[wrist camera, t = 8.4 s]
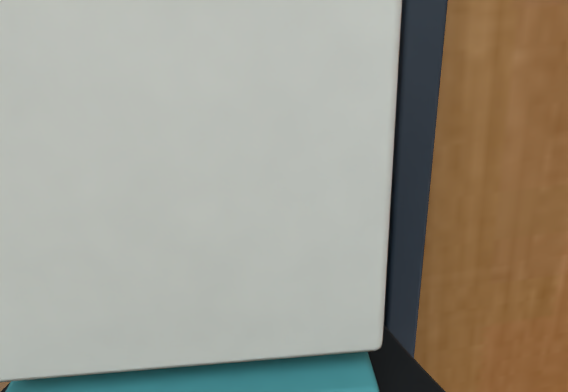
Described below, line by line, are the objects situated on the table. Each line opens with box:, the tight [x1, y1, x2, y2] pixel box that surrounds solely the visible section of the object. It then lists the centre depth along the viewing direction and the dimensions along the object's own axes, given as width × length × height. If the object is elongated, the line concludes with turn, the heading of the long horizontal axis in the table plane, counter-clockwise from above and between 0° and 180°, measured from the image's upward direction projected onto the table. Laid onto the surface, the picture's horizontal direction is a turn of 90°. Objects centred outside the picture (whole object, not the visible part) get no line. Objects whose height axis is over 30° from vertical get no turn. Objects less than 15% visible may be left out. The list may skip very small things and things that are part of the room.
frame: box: [384, 0, 448, 358], centre depth 9 cm, size 13×7×2 cm, turn 3°
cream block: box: [0, 0, 402, 382], centre depth 6 cm, size 5×4×4 cm
